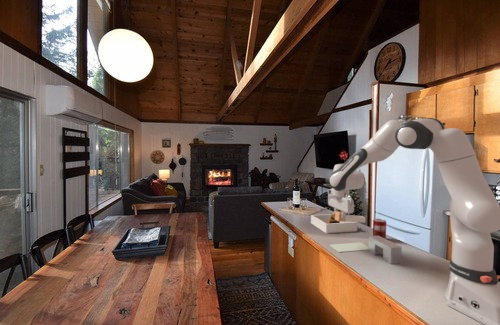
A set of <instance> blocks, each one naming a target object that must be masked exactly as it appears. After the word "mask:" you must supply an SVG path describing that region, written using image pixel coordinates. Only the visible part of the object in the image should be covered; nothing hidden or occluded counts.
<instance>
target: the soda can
mask: <svg viewBox="0 0 500 325" xmlns="http://www.w3.org/2000/svg"><path fill="white" fill-rule="evenodd" d="M372 236H380V237H382V238H385V239H387V220H385V219H383V218H374V219H373V220H372Z"/></svg>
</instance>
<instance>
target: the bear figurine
mask: <svg viewBox="0 0 500 325" xmlns="http://www.w3.org/2000/svg"><path fill="white" fill-rule="evenodd" d="M330 214H331V215H332V216H331V217H330V218H329V220H328V221H327V222H325V223H326V224H332V223H339V221H337V220H335V212H332V213H330Z"/></svg>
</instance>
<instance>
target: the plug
mask: <svg viewBox="0 0 500 325" xmlns="http://www.w3.org/2000/svg"><path fill="white" fill-rule="evenodd" d="M334 213H335V220H337V221H342V222H358V223H366V216H363V215H353V214H352V215H351V214H346V215H345V219H341V215H342V211H339V210H338V211H336V212H335V211H334Z"/></svg>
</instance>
